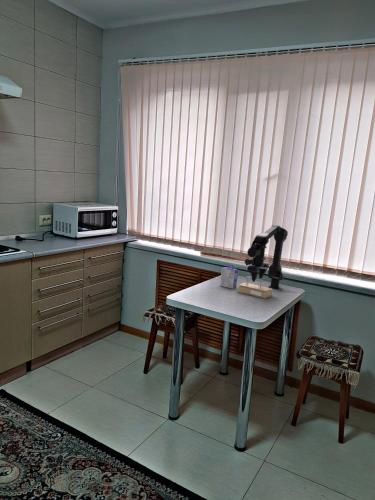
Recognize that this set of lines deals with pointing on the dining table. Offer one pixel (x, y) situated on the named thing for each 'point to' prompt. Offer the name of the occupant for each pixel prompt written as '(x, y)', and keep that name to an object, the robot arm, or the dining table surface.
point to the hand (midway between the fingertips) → (256, 280)
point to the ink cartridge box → (229, 277)
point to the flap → (255, 285)
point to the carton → (254, 292)
